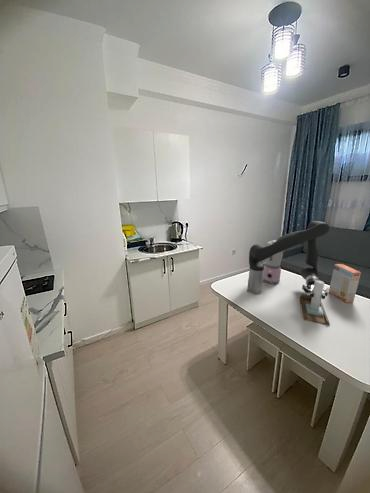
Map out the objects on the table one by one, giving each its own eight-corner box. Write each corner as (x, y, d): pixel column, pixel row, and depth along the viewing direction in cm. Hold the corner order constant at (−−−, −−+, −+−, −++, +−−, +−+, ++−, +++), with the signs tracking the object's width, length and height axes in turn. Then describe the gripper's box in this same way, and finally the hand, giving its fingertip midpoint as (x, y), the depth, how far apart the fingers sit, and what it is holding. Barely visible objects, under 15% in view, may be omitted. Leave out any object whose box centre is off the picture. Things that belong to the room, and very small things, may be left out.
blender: (265, 275, 166) (269, 238, 156) (281, 279, 159) (286, 240, 149) (258, 283, 154) (263, 242, 144) (275, 288, 147) (281, 245, 137)
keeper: (306, 313, 117) (312, 284, 111) (305, 305, 124) (310, 278, 118) (323, 316, 114) (329, 286, 108) (320, 308, 121) (326, 280, 115)
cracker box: (353, 302, 128) (362, 272, 122) (344, 303, 127) (352, 272, 121) (336, 291, 141) (342, 263, 135) (328, 291, 141) (334, 263, 134)
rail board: (303, 319, 113) (304, 314, 112) (299, 298, 134) (300, 292, 133) (329, 325, 108) (330, 319, 107) (320, 301, 130) (321, 296, 128)
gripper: (301, 276, 130) (304, 288, 115) (327, 279, 124) (334, 293, 109) (299, 286, 132) (302, 300, 117) (325, 290, 126) (332, 305, 111)
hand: (318, 296), depth 113 cm, fingers closed on keeper, 4 cm apart
